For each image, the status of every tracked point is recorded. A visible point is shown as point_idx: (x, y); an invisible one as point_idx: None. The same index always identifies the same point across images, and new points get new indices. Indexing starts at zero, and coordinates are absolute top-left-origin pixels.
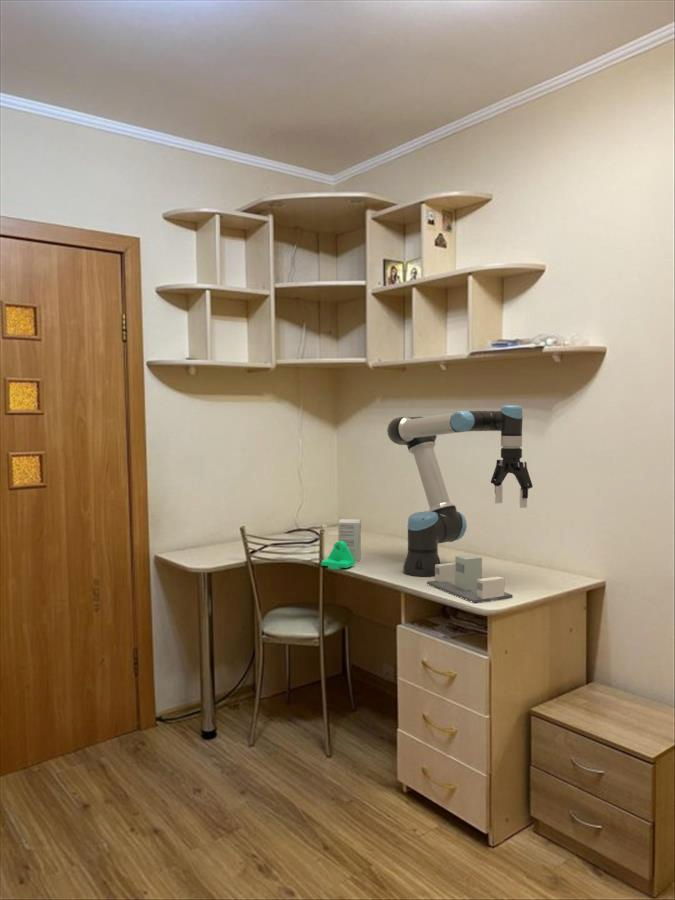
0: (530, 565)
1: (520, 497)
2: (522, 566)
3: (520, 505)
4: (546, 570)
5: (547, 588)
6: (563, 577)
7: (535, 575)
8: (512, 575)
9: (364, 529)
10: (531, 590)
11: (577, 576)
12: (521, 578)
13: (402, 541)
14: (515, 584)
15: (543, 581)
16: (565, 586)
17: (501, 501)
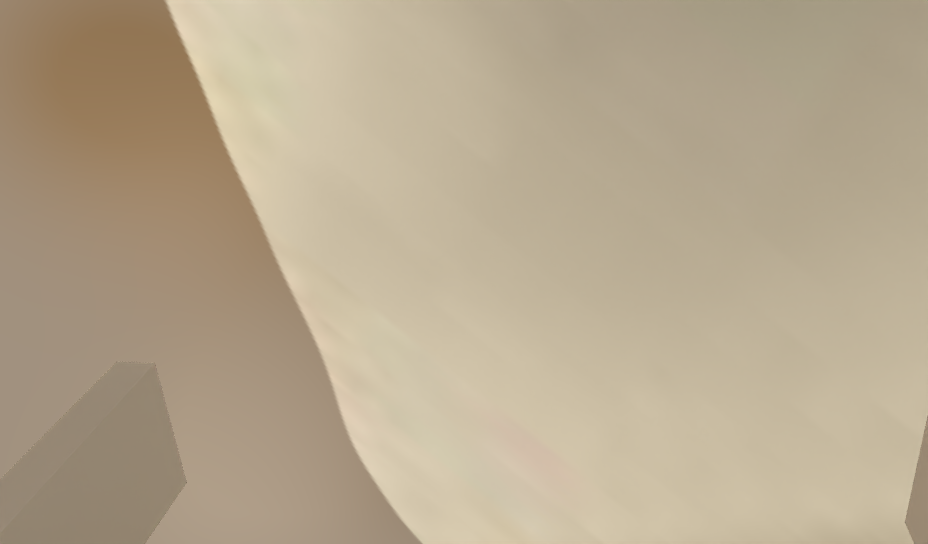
0: None
1: (2, 502)
2: None
3: (108, 387)
4: (737, 507)
5: (342, 200)
6: (537, 464)
7: (663, 365)
8: (747, 233)
9: None
10: (330, 68)
11: (522, 538)
12: (640, 230)
13: None
14: (513, 75)
15: (504, 300)
16: (349, 326)
17: (922, 531)
